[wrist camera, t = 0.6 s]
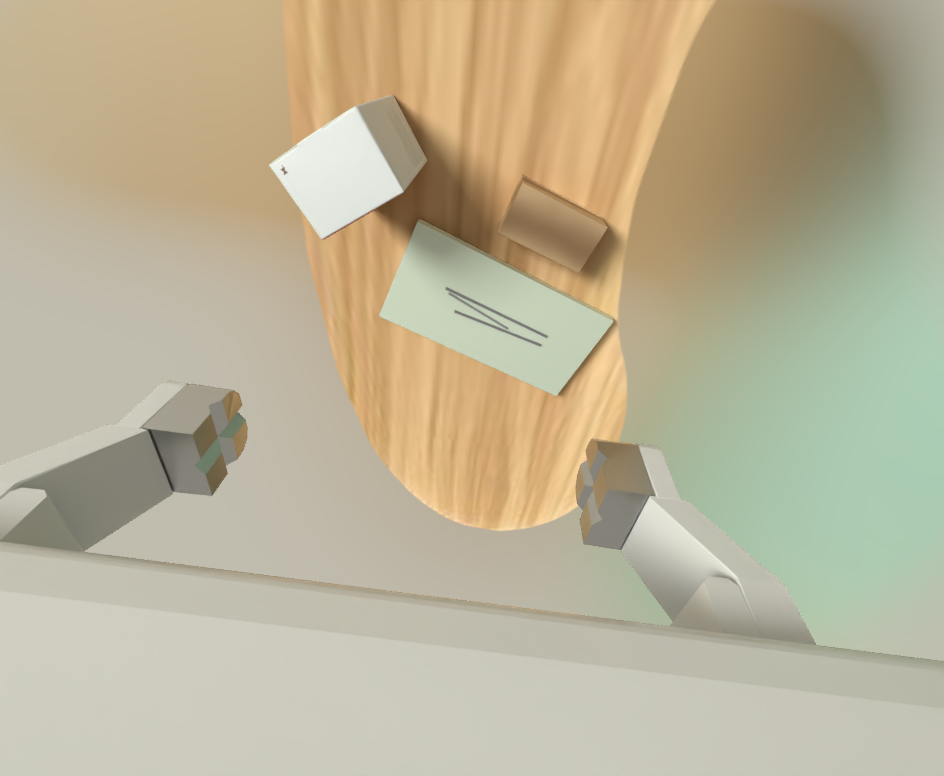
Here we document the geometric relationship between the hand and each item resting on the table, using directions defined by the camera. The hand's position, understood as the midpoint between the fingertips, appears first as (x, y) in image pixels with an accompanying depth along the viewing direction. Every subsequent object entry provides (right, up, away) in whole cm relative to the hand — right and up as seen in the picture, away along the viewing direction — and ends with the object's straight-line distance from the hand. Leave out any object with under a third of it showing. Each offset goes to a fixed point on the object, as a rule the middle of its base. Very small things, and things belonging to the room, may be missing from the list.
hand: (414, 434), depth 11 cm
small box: (-8, +24, +33) cm, 42 cm away
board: (+4, +10, +42) cm, 43 cm away
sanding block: (+9, +18, +36) cm, 41 cm away
